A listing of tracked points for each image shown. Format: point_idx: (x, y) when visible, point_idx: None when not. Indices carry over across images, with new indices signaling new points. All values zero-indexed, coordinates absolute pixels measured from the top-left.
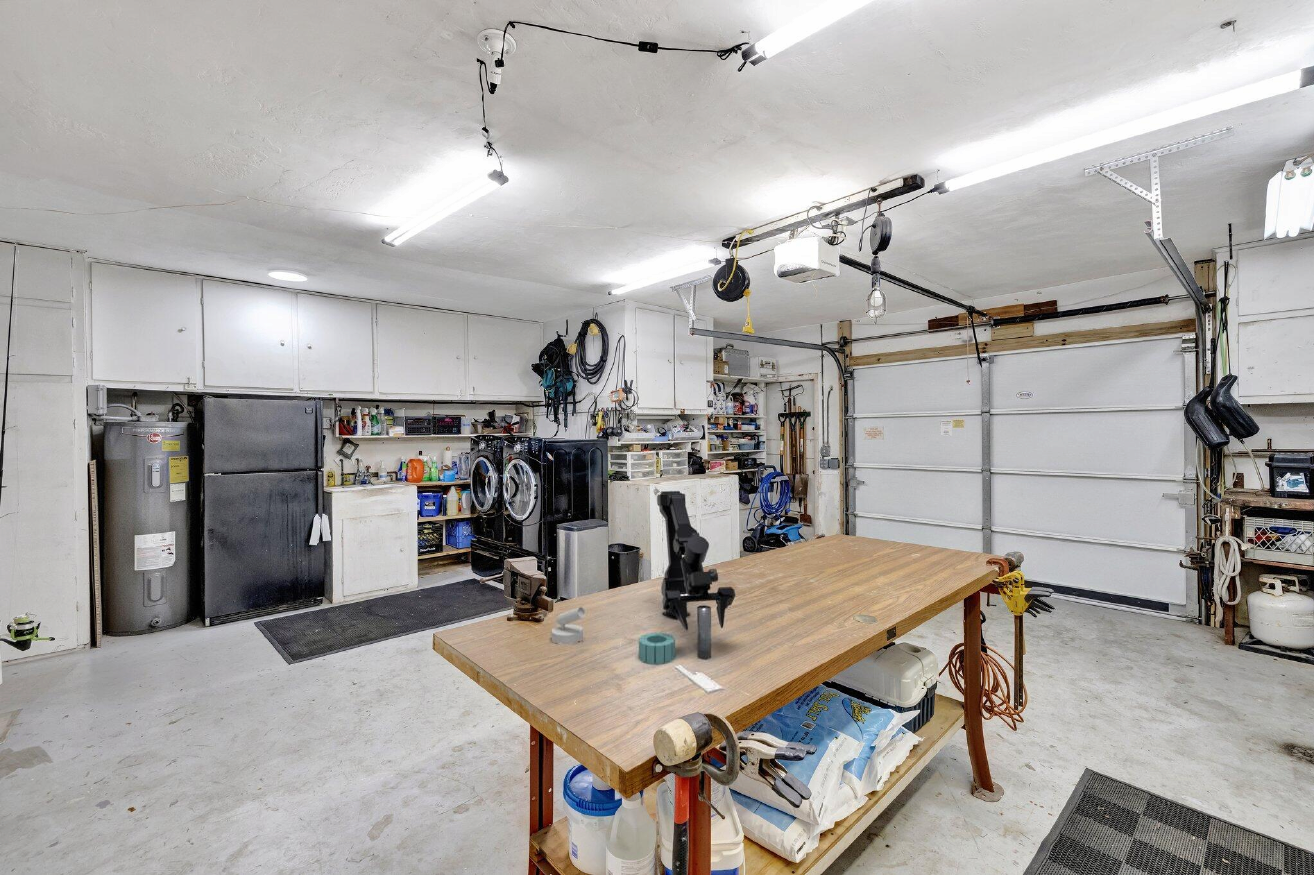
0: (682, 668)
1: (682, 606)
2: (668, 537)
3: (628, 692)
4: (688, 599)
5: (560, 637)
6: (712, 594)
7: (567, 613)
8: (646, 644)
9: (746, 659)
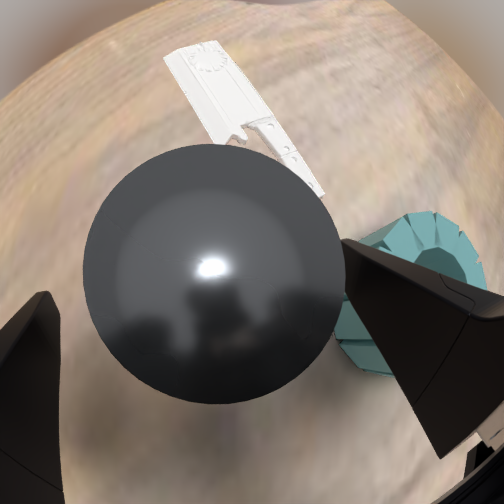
0: (296, 170)
1: (494, 317)
2: None
3: (403, 88)
4: (463, 498)
5: None
6: None
7: None
8: (460, 233)
9: (19, 271)
